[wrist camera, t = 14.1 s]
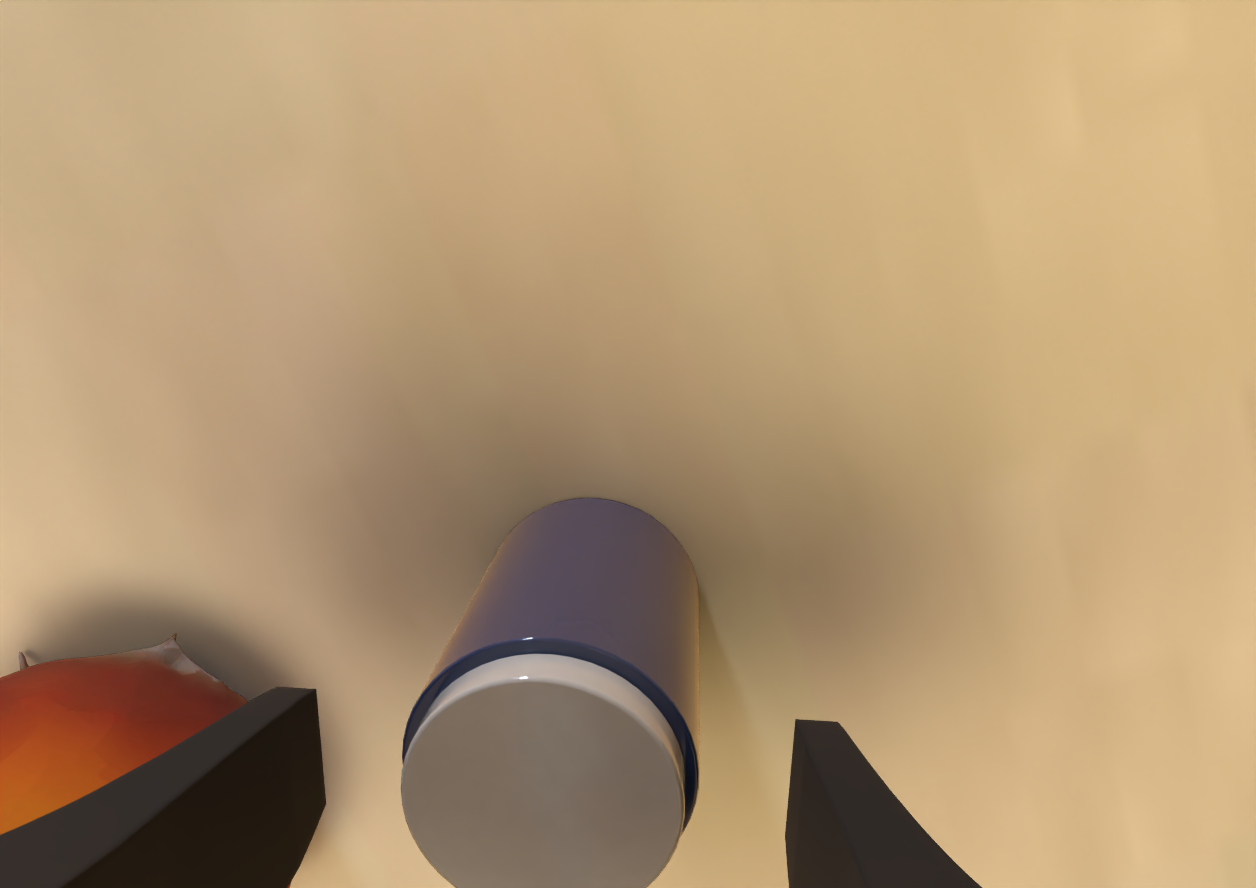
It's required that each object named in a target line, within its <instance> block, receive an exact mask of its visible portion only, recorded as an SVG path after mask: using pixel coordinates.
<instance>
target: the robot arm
mask: <svg viewBox="0 0 1256 888" xmlns="http://www.w3.org/2000/svg"><path fill="white" fill-rule="evenodd" d="M325 805H326V797H325V786H324V774H323V763H322V751H321V740H320V728H319V717H318V705H317V694H316V689H305V688H289V687H276V688H274V689H272V690H270V691H268V692H266V693H264V694H262V695H260V696H258V697H257V698H255V699H253V700H251V701H250V702H248V703H246V704H244V705H243V706H241V707H239V708H238V709H236V710H234V711H233V712H231V713H229V714H228V715H226V716H224V717H223V718H221V719H219V720H218V721H216V722H214V723H213V724H211V725H209V726H208V727H206V728H204V729H203V730H201V731H199V732H198V733H196V734H194V735H193V736H191V737H189V738H187V739H186V740H184V741H182V742H181V743H179V744H177V745H176V746H174V747H172V748H171V749H169V750H167V751H166V752H164V753H162V754H160V755H159V756H157V757H155V758H153V759H152V760H150V761H148V762H146V763H144V764H142V765H141V766H139V767H137V768H135V769H133V770H131V771H130V772H128V773H126V774H124V775H122V776H120V777H119V778H117V779H115V780H113V781H111V782H110V783H108V784H106V785H104V786H102V787H100V788H99V789H97V790H95V791H93V792H91V793H89V794H87V795H85V796H83V797H81V798H79V799H77V800H75V801H73V802H71V803H69V804H67V805H65V806H63V807H61V808H59V809H57V810H55V811H53V812H50V813H48V814H46V815H44V816H42V817H39V818H37V819H35V820H33V821H31V822H28V823H26V824H24V825H22V826H20V827H17V828H15V829H13V830H11V831H8V832H6V833H4V834H1V835H0V888H288V886H289V884H290V882H291V881H292V879H293V877H294V875H295V874H296V872H297V870H298V868H299V866H300V864H301V862H302V860H303V858H304V855H305V853H306V851H307V848H308V846H309V844H310V842H311V839H312V837H313V835H314V832H315V830H316V827H317V825H318V822H319V820H320V817H321V815H322V812H323V810H324V807H325ZM785 841H786V854H787V868H788V880H789V888H982V887H981V886H980V885H979V884H977V883H976V882H975V881H974V880H973V879H972V878H971V877H970V876H969V875H968V874H967V873H965V872H964V871H963V870H962V869H961V868H960V867H959V866H958V865H957V864H956V863H955V862H954V861H953V860H952V859H951V858H950V857H949V856H948V855H947V854H946V853H945V852H944V851H943V850H942V848H941V847H940V846H939V845H938V844H937V843H936V842H935V841H934V840H933V839H932V838H931V837H930V836H929V835H928V833H927V832H926V831H925V830H924V829H923V828H922V827H921V826H920V825H919V823H918V822H917V821H916V820H915V819H914V818H913V816H912V815H911V814H910V813H909V812H908V811H907V809H906V808H905V807H904V806H903V805H902V803H901V802H900V801H899V800H898V799H897V797H896V796H895V795H894V794H893V793H892V791H891V790H890V789H889V788H888V786H887V785H886V784H885V783H884V781H883V780H882V779H881V778H880V776H879V775H878V774H877V772H876V771H875V770H874V769H873V767H872V766H871V765H870V763H869V762H868V761H867V759H866V758H865V757H864V755H863V754H862V753H861V751H860V750H859V749H858V747H857V746H856V745H855V743H854V742H853V741H852V739H851V738H850V736H849V735H848V734H847V732H846V731H845V730H844V728H843V727H842V726H841V725H840V724H839V723H838V722H831V721H815V720H799V719H796V720H795V731H794V742H793V753H792V765H791V776H790V787H789V798H788V810H787V821H786V832H785Z"/></svg>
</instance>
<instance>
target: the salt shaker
mask: <svg viewBox="0 0 1256 888" xmlns="http://www.w3.org/2000/svg"><path fill="white" fill-rule="evenodd" d="M402 760H403V768H402V776H401V796H402V806H403V810H404V814H405V818H406V822H407V824H408V827H409V830H410V832H411V835H412V837H413V839H414V840H415V842H416V844H417V846H418V848H419V849H420V851H421V852H422V854H423V855H424V856H425V858H426V859H427V860H428V862H429V863H430V864H431V865H432V866H433V867H434V868H435V870H436V871H437V872H438V873H439V874H440V875H441V876H442V877H443V878H445V879H446V880H447V881H448V882H449V883H451V884H452V885H453V886H454V887H455V888H647V887H648V886H649V885H650V884H651V883H652V882H653V881H654V880H655V879H656V878H657V877H658V876H659V875H660V873H661V872H662V871H663V869H664V868H665V867H666V865H667V864H668V862H669V861H670V859H671V857H672V855H673V853H674V852H675V850H676V848H677V845H678V842H679V839H680V836H681V835H682V834H683V832H684V830H685V828H686V826H687V824H688V822H689V820H690V819H691V816H692V813H693V810H694V807H695V804H696V800H697V794H698V789H699V594H698V585H697V580H696V576H695V572H694V569H693V567H692V564H691V562H690V559H689V557H688V555H687V554H686V552H685V550H684V549H683V547H682V545H681V544H680V543H679V542H678V540H677V539H676V538H675V537H674V535H673V534H672V533H671V532H670V531H669V530H668V529H667V528H665V527H664V526H663V525H662V524H661V523H659V522H658V521H657V520H655V519H654V518H653V517H651V516H650V515H648V514H646V513H644V512H642V511H641V510H639V509H636V508H634V507H632V506H629V505H627V504H623V503H620V502H616V501H612V500H606V499H599V498H580V499H570V500H566V501H561V502H557V503H554V504H552V505H549V506H546V507H544V508H542V509H540V510H538V511H536V512H534V513H532V514H531V515H529V516H528V517H527V518H525V519H524V520H522V521H521V522H520V523H519V524H518V525H517V526H516V527H515V528H514V529H513V530H512V531H511V532H510V533H509V534H508V536H507V537H506V538H505V539H504V541H503V542H502V544H501V546H500V548H499V549H498V551H497V553H496V555H495V557H494V558H493V560H492V562H491V564H490V566H489V568H488V569H487V571H486V573H485V575H484V577H483V579H482V581H481V582H480V584H479V586H478V588H477V590H476V592H475V594H474V595H473V597H472V599H471V601H470V603H469V605H468V607H467V608H466V610H465V612H464V614H463V616H462V618H461V619H460V621H459V623H458V625H457V627H456V629H455V631H454V632H453V634H452V636H451V638H450V640H449V642H448V644H447V645H446V647H445V649H444V651H443V653H442V655H441V657H440V658H439V660H438V662H437V664H436V666H435V668H434V669H433V671H432V673H431V675H430V677H429V679H428V681H427V682H426V684H425V686H424V688H423V690H422V692H421V694H420V695H419V697H418V699H417V701H416V703H415V705H414V707H413V709H412V711H411V714H410V716H409V719H408V721H407V725H406V729H405V734H404V738H403V750H402Z"/></svg>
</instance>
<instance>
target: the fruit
mask: <svg viewBox="0 0 1256 888" xmlns="http://www.w3.org/2000/svg"><path fill="white" fill-rule="evenodd" d="M176 635H177V632H176V633H175V634H174V635H173V636H172V637H171V638H170V639H168V640H167V641H165V642H164V643H162V644H160V645H157V646H154V647H150V648H146V649H139V650H133V651H127V652H121V653H115V654H109V655H102V656H95V657H84V658H71V659H62V660H57V661H51V662H45V663H41V664H38V665H34V666H31V667H29V666H28V664H27V661H26V659H25V656H24V655H23V653H22V652H19V661H20V671H18V672H15V673H12V674H10V675H7V676H4V677H1V678H0V835H1V834H4V833H6V832H8V831H11V830H13V829H15V828H17V827H20V826H22V825H24V824H26V823H28V822H31V821H33V820H35V819H37V818H39V817H42V816H44V815H46V814H48V813H50V812H53V811H55V810H57V809H59V808H61V807H63V806H65V805H67V804H69V803H71V802H73V801H75V800H77V799H79V798H81V797H83V796H85V795H87V794H89V793H91V792H93V791H95V790H97V789H99V788H100V787H102V786H104V785H106V784H108V783H110V782H111V781H113V780H115V779H117V778H119V777H120V776H122V775H124V774H126V773H128V772H130V771H131V770H133V769H135V768H137V767H139V766H141V765H142V764H144V763H146V762H148V761H150V760H152V759H153V758H155V757H157V756H159V755H160V754H162V753H164V752H166V751H167V750H169V749H171V748H172V747H174V746H176V745H177V744H179V743H181V742H182V741H184V740H186V739H187V738H189V737H191V736H193V735H194V734H196V733H198V732H199V731H201V730H203V729H204V728H206V727H208V726H209V725H211V724H213V723H214V722H216V721H218V720H219V719H221V718H223V717H224V716H226V715H228V714H229V713H231V712H233V711H234V710H236V709H238V708H239V707H241V706H243V705H244V704H246V703H248V701H247V700H246V699H245V698H243V697H242V696H240V695H239V694H237V693H235V692H234V691H232V690H231V689H229V688H228V687H227V686H226V685H225V684H224V683H223V682H221V681H220V680H218V679H216V678H215V677H213V676H211V675H209V674H208V673H207V672H205V671H204V670H203V669H202V668H200V667H199V666H197V665H196V664H195V663H193V662H192V661H191V660H190V659H189V658H188V657H187V656H186V655H185V654H184V652H183V651H182V650H181V648H180V647H179V645H178V644H177V643H176ZM290 884H291V882H290ZM290 884H289V886H288V888H289V887H290Z"/></svg>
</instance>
